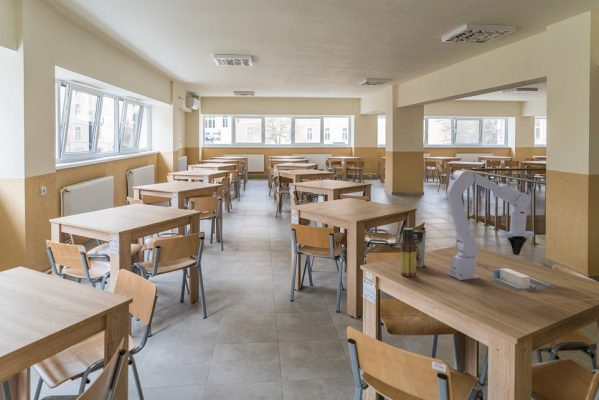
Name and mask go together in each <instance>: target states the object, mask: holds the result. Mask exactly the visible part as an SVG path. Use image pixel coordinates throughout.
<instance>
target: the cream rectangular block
mask: <svg viewBox="0 0 599 400" xmlns="http://www.w3.org/2000/svg"><path fill="white" fill-rule="evenodd" d="M508 268H509V267H506V268H505V269H503V268H499V269H500V279H501V280H503V281H506V282H508V283H511V284H513V285H515V286H518V287H520V288H521V289H526V288H529V285H530V277H531V276H529V275H527V274H524V273H522V272H519V271H516V270H513V269H511V268H509V269H508Z"/></svg>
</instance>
